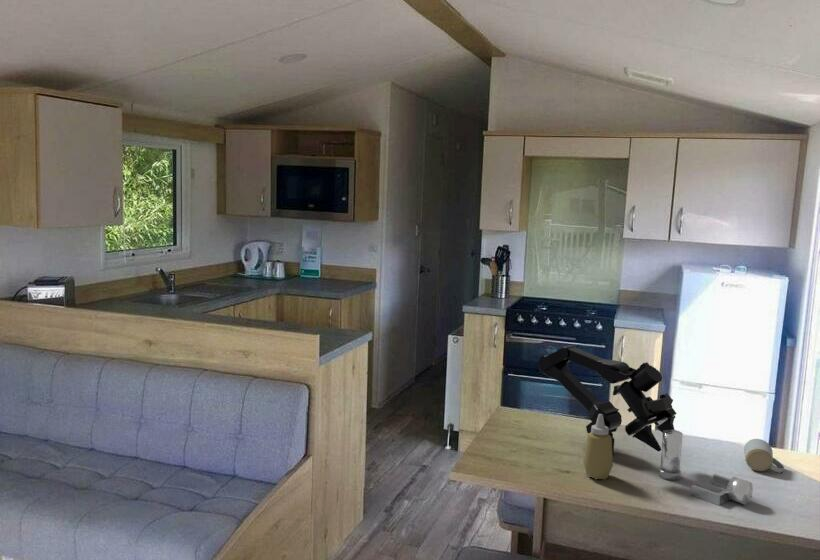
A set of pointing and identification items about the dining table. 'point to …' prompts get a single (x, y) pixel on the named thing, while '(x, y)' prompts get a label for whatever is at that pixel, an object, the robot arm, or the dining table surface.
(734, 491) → the duct saddle
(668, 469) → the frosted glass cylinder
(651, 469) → the dining table surface
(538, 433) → the dining table surface
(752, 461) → the ceramic mug
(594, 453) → the squeeze bottle
